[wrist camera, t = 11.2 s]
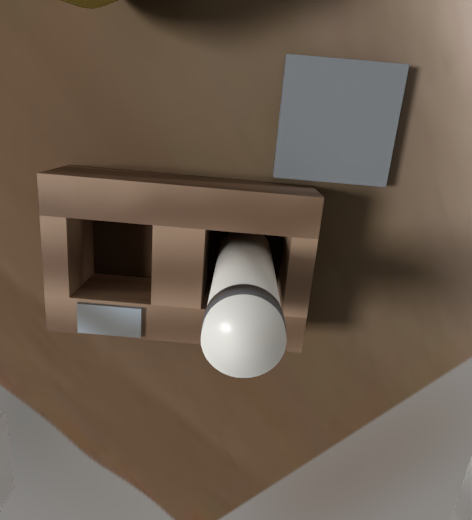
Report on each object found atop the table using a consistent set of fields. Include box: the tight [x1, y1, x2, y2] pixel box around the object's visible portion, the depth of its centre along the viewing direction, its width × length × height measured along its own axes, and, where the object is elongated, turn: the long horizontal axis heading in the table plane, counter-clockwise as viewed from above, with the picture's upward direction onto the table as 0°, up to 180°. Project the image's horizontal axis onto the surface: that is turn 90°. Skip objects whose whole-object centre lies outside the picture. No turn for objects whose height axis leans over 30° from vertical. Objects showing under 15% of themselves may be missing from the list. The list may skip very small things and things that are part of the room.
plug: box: [201, 232, 287, 378], centre depth 27 cm, size 4×4×14 cm
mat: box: [273, 54, 409, 187], centre depth 30 cm, size 8×8×1 cm
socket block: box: [37, 165, 324, 353], centre depth 31 cm, size 11×18×5 cm, turn 85°
